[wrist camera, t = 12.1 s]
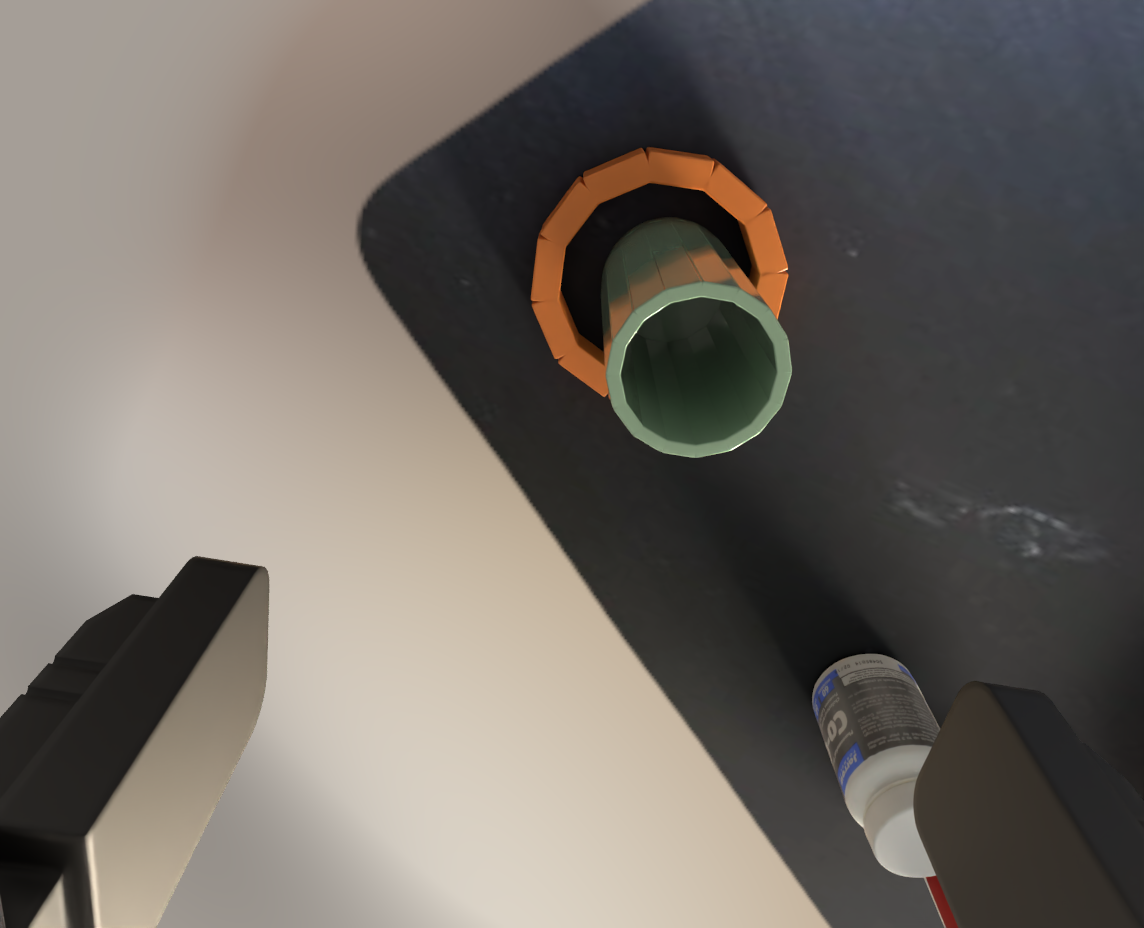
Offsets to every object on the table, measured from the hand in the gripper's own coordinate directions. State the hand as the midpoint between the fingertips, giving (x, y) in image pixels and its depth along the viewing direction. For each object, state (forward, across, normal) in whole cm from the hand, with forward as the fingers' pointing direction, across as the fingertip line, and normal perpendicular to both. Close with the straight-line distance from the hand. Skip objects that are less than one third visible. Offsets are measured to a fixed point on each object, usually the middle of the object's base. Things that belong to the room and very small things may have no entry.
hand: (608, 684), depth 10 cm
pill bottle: (+23, -16, +18) cm, 33 cm away
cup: (+23, -3, +1) cm, 24 cm away
